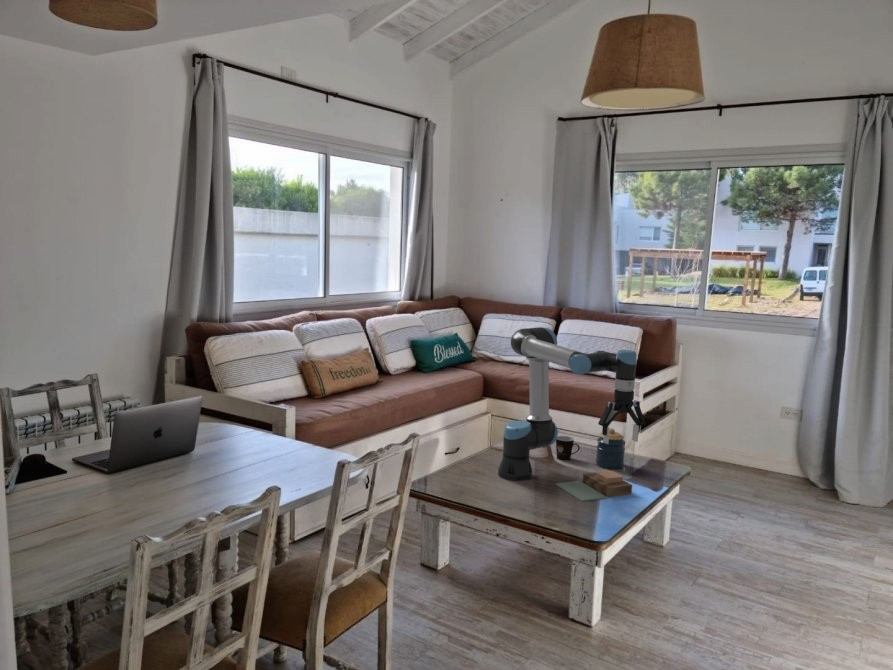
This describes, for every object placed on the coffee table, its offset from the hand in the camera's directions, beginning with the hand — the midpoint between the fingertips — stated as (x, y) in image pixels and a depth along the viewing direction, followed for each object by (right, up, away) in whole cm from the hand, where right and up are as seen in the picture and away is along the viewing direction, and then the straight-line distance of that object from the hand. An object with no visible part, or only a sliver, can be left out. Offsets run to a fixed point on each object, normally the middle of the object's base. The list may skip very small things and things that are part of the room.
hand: (620, 441), depth 273 cm
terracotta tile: (0, -19, +18) cm, 26 cm away
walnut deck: (-1, -23, +18) cm, 29 cm away
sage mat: (-13, -23, +13) cm, 30 cm away
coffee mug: (-12, -17, +56) cm, 60 cm away
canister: (+7, -19, +50) cm, 54 cm away
